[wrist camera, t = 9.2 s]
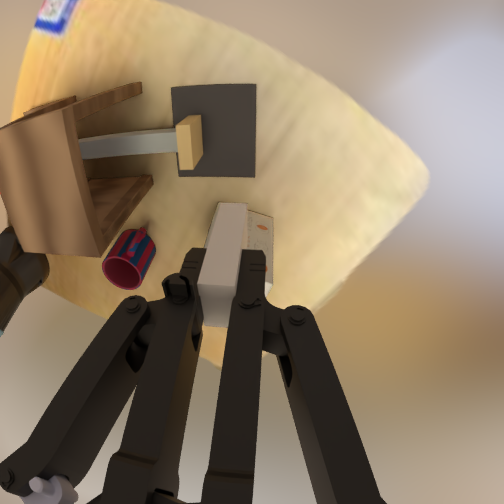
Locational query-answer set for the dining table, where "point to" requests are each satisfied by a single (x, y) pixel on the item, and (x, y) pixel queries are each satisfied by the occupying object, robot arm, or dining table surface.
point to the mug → (129, 259)
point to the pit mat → (220, 127)
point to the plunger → (151, 143)
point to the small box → (256, 240)
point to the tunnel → (63, 180)
